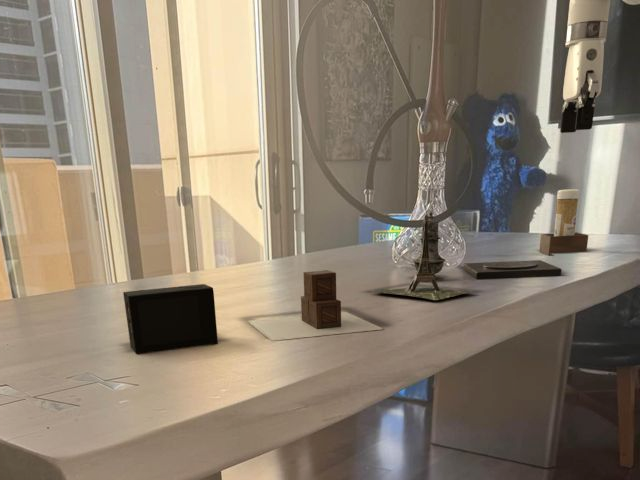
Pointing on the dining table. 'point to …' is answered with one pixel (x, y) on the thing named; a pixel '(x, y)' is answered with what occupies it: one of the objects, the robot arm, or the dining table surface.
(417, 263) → the dark brown tall piece
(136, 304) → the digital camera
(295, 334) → the stack of crates
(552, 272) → the hob plate
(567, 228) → the sprinkles bottle
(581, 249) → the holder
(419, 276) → the eiffel tower figurine
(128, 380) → the dining table surface
